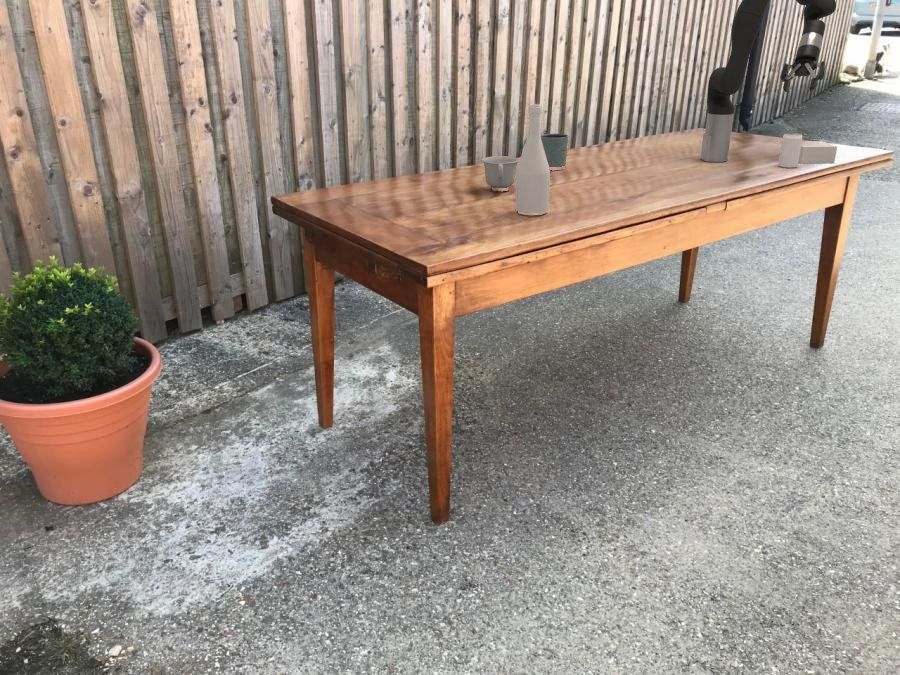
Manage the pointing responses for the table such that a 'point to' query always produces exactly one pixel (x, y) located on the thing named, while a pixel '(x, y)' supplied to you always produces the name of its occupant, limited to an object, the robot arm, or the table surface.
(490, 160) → the teacup
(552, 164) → the green cup
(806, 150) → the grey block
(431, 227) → the table surface
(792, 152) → the can
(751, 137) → the table surface
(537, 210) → the wine bottle
